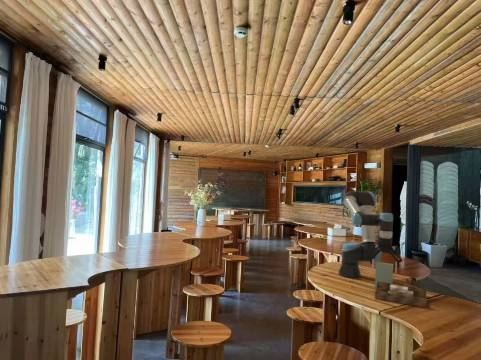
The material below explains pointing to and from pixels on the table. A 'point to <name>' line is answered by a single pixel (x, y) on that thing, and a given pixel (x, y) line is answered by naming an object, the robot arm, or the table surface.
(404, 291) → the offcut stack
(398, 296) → the rack
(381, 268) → the grey-green flat block
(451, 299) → the table surface
